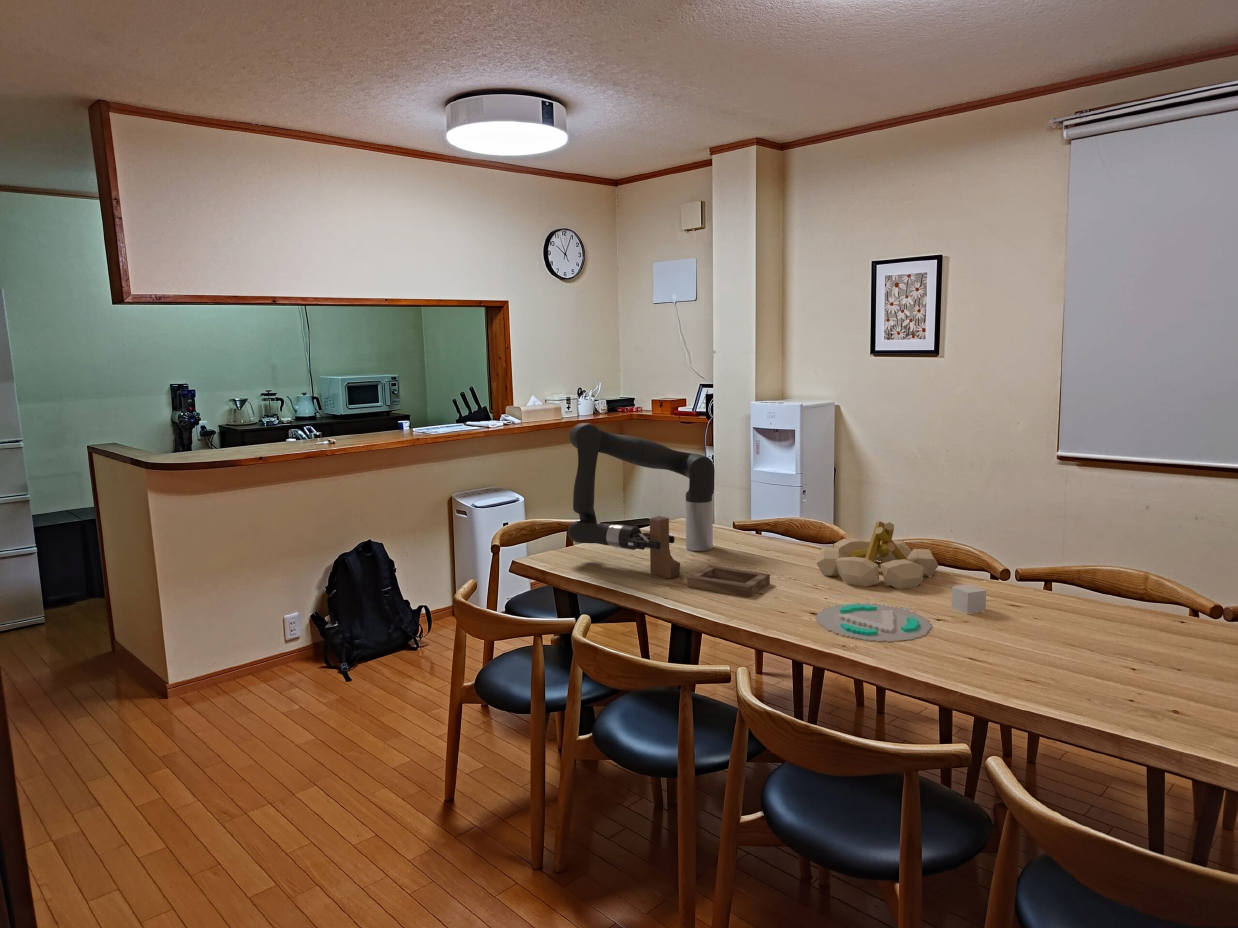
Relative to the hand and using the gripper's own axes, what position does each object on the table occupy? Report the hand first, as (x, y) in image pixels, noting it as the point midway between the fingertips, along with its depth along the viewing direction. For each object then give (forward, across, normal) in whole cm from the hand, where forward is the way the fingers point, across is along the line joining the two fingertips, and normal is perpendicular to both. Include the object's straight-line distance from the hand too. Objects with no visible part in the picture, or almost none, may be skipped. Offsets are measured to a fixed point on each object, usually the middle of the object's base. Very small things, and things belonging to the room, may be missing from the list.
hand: (667, 542), depth 255 cm
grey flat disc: (+67, -10, +11) cm, 69 cm away
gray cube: (+86, +12, +11) cm, 88 cm away
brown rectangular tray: (+21, 0, +10) cm, 23 cm away
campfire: (+55, +34, +11) cm, 66 cm away
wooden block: (-1, 0, +11) cm, 11 cm away
